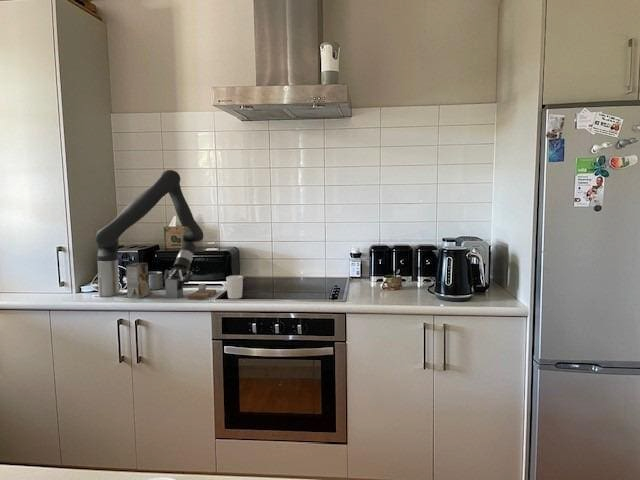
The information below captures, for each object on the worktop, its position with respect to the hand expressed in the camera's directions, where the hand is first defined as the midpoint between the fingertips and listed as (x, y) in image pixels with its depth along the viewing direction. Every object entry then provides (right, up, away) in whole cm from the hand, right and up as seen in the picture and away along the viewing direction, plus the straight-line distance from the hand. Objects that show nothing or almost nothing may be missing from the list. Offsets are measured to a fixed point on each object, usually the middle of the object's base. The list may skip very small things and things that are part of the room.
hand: (172, 288), depth 217 cm
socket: (0, -4, +2) cm, 5 cm away
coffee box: (-18, -4, +3) cm, 19 cm away
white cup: (+30, -4, +1) cm, 30 cm away
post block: (+14, -4, +3) cm, 14 cm away
